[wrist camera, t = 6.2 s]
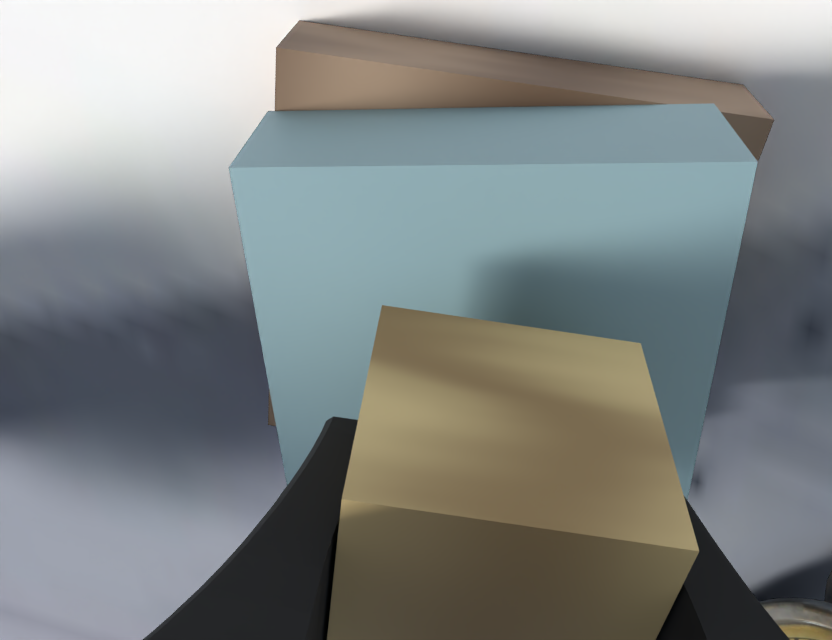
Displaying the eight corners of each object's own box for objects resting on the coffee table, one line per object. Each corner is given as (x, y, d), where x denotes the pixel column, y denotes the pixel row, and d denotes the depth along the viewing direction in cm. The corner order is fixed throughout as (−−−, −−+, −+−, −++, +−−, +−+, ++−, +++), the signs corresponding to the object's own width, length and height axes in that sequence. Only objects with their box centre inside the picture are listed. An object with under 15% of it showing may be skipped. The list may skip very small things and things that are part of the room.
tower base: (291, 358, 24) (268, 425, 21) (305, 13, 18) (275, 47, 16) (620, 406, 24) (635, 477, 21) (734, 75, 18) (774, 119, 16)
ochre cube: (359, 488, 16) (320, 699, 12) (382, 305, 13) (341, 499, 10) (578, 521, 16) (605, 740, 12) (640, 343, 13) (699, 550, 10)
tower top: (316, 437, 21) (293, 522, 19) (267, 111, 16) (228, 168, 14) (657, 443, 21) (680, 533, 18) (714, 103, 16) (758, 161, 13)
